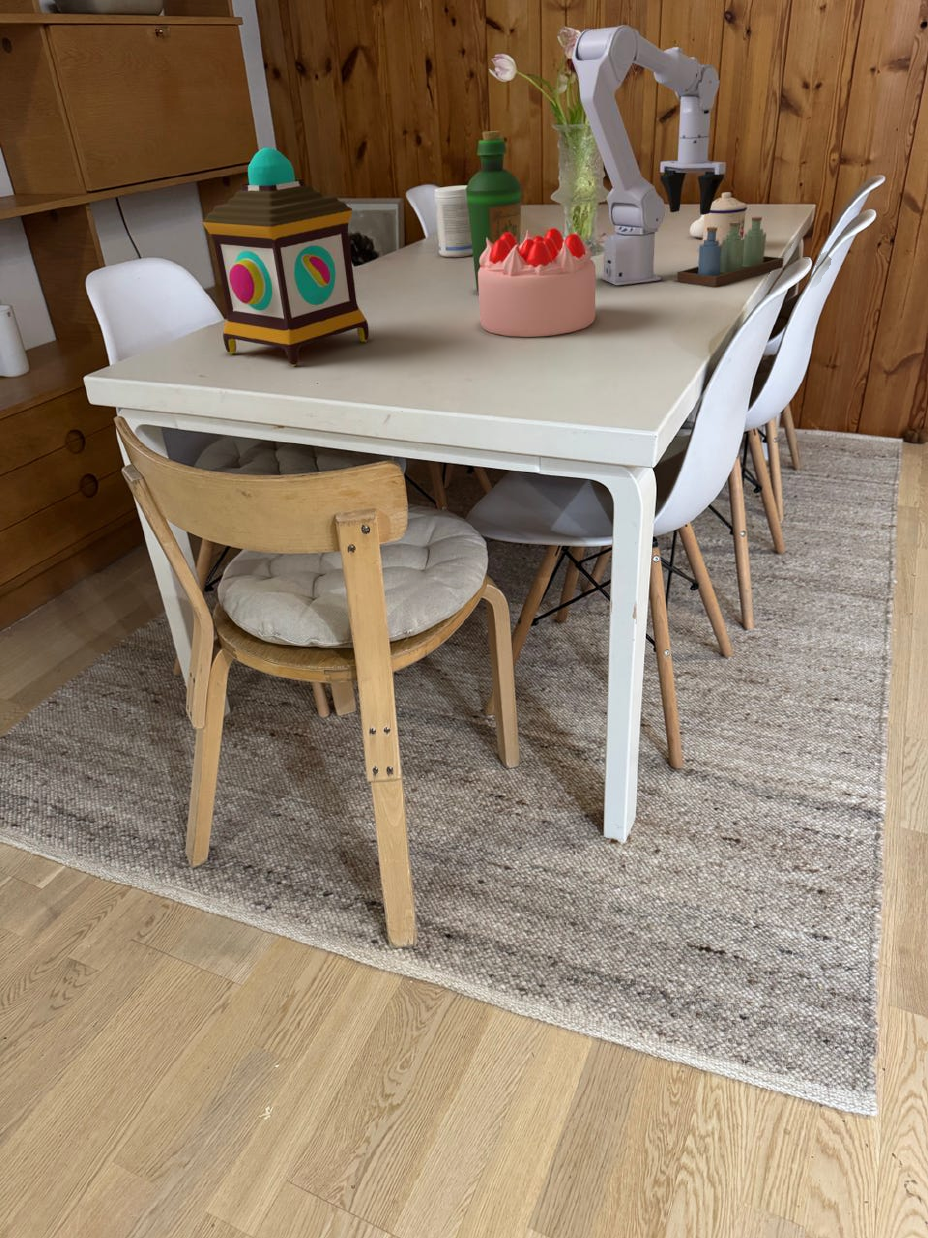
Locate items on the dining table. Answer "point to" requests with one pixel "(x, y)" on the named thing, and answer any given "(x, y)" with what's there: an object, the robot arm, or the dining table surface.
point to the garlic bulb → (698, 227)
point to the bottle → (492, 198)
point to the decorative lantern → (284, 261)
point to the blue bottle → (710, 254)
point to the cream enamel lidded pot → (725, 216)
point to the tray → (725, 278)
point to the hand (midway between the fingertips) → (689, 212)
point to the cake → (536, 285)
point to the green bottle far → (754, 244)
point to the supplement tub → (453, 221)
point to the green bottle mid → (732, 250)
